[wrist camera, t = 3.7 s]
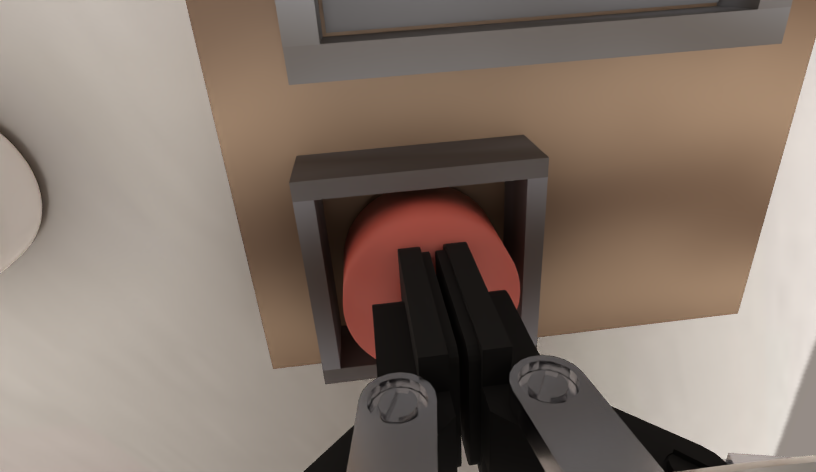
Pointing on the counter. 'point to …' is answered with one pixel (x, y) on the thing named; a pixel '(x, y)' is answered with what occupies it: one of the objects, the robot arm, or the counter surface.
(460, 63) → the brown flat wooden board
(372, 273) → the button
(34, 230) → the drinking glass
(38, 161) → the counter surface
